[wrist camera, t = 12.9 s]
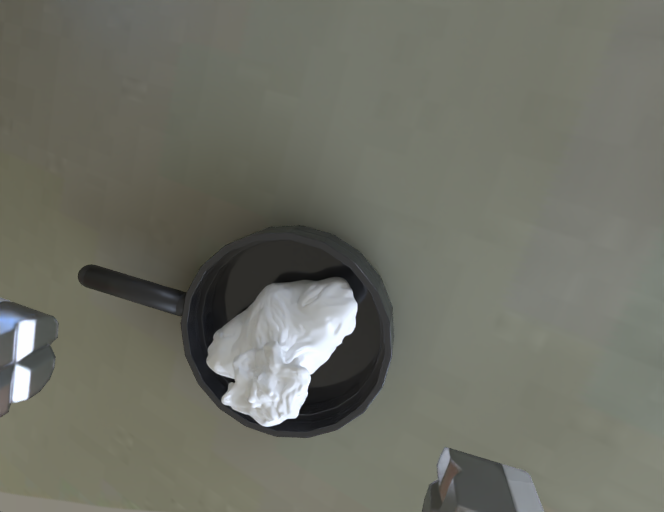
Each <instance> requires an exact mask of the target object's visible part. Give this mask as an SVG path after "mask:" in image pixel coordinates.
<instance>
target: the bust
mask: <svg viewBox="0 0 664 512" xmlns="http://www.w3.org/2000/svg"><path fill="white" fill-rule="evenodd" d="M356 313H357V302H356V301H355V299H354V296H353V291H352V289H351V288H350V286H349V284H348V282H347V281H346V280H345V279H343V278H340V277H330V278H327V279H324V280H320V281H311V280H300V281H294V282H284V283H272V284H270V285H267V286H266V287H265V288H264V289H263V290H262V291H261V292H260V294H259V295H258V296H257V298H256V300H255V301H254V302H253V303H252V304H251V305H250V306H249V307H248V308H247V309H246V310H245V311H243V312H242V313H240V314H239V315H237V316H236V317H234V318H233V319H232V320H230V321H229V322H228V323H227V324H225V325H224V326H223V327H222V328H221V329H219V330H217V331H216V332H215V334H214V336H213V339H214V340H213V342H212V343H211V344H210V346H209V347H208V357H207V359H206V362H207V365H208V366H209V368H210V369H212V370H213V371H214V372H215V373H217V374H219V375H222V376H225V377H229V378H232V379H235V383H233V382H231V383H229V385H228V391H227V392H226V393H225V394H224V395H223V396H222V399H221V401H222V403H223V404H224V405H229V406H231V407H232V409H233V410H236V411H238V412H241V413H243V414H246V415H250V416H251V417H252V418H253V419H254V420H256V421H257V422H258V423H259V424H260V425H262V426H265V427H269V426H274V425H277V424H280V423H281V422H283V421H284V420H286V419H295V418H296V417H297V416H298V415H299V410H300V408H301V406H302V405H303V404H304V401H305V399H306V397H307V395H308V386H309V383H310V381H311V376H310V375H311V374H313V373H314V372H315V371H316V370H317V369H318V368H319V367H320V366H321V365H323V364H324V363H325V362H326V361H327V360H328V359H329V358H330V356H331V354H332V353H333V352H334V351H335V349H336V346H338V345H340V344H341V343H342V340H343V338H344V337H345V336H346V335H349V334H351V333H352V332H353V330H354V328H355V326H356V319H355V317H356Z"/></svg>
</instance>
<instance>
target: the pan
mask: <svg viewBox="0 0 664 512" xmlns="http://www.w3.org/2000/svg"><path fill="white" fill-rule="evenodd" d="M330 277H340V278H343V279H345V280H346V281H347V282H348V284H349V286H350V288H351V289H352V291H353V296H354V299H355V301H356V302H357V313H356V317H355V319H356V326H355V328H354V330H353V332H352V333H351V334H349V335H346V336H345V337H344V338H343V340H342V343H341V344H340V345H338V346H336V349H335V351H334V352H333V353H332V354H331V356H330V358H329V359H328V360H327V361H326V362H325V363H324V364H323V365H321V366H320V367H319V368H318V369H317V370H316V371H315V372H314V373H313V374H311V375H310V376H311V381H310V383H309V386H308V395H307V397H306V399H305V401H304V404H303V405H302V406H301V408H300V410H299V415H298V416H297V417H296V418H295V419H286V420H284V421H283V422H281V423H280V424H277V425H274V426H269V427H265V426H262V425H260V424H259V423H258V422H257V421H256V420H254V419H253V418H252V417H251V416H250V415H246V414H243V413H241V412H238V411H236V410H233V409H232V407H231V406H229V405H224V404H223V403H222V401H221V399H222V396H223V395H224V394H225V393H226V392H227V391H228V385H229V383H231V382H233V383H235V379H232V378H229V377H225V376H222V375H219V374H217V373H215V372H214V371H213V370H212V369H210V368H209V366H208V365H207V362H206V359H207V357H208V347H209V346H210V344H211V343H212V342H213V340H214V339H213V336H214V334H215V332H216V331H217V330H219V329H221V328H222V327H223V326H224V325H225V324H227V323H228V322H229V321H230V320H232V319H233V318H234V317H236V316H237V315H239V314H240V313H242V312H243V311H245V310H246V309H247V308H248V307H249V306H250V305H251V304H252V303H253V302H254V301H255V300H256V298H257V296H258V295H259V294H260V292H261V291H262V290H263V289H264V288H265V287H266V286H267V285H270V284H272V283H284V282H294V281H300V280H311V281H320V280H324V279H327V278H330ZM181 330H182V337H183V344H184V351H185V356H186V358H187V361H188V363H189V365H190V367H191V369H192V371H193V374H194V376H195V378H196V380H197V382H198V384H199V385H200V387H201V388H202V389H203V390H204V391H205V392H206V394H207V395H208V396H209V397H210V398H211V399H212V401H213V402H214V403H215V404H216V405H217V407H218V408H220V409H221V410H222V411H224V412H225V413H227V414H228V415H230V416H231V417H233V418H234V419H236V420H237V421H238V422H240V423H241V424H243V425H244V426H246V427H249V428H252V429H255V430H258V431H261V432H264V433H267V434H270V435H273V436H276V437H298V438H309V437H313V436H317V435H320V434H324V433H328V432H332V431H335V430H338V429H340V428H341V427H343V426H344V425H346V424H347V423H349V422H350V421H352V420H353V419H355V418H356V417H358V416H359V415H361V414H362V413H363V412H365V410H366V409H367V408H368V406H369V405H370V404H371V402H372V401H373V400H374V398H375V397H376V396H377V394H378V393H379V392H380V390H381V389H382V387H383V385H384V381H385V378H386V375H387V371H388V368H389V365H390V361H391V358H392V351H393V342H394V326H393V308H392V304H391V302H390V299H389V297H388V294H387V292H386V289H385V286H384V284H383V281H382V279H381V278H380V276H379V274H378V273H377V272H376V271H375V270H374V268H373V267H372V266H371V265H370V263H369V262H368V261H367V260H366V258H365V257H364V256H363V255H362V254H361V253H360V252H359V251H358V250H356V249H355V248H353V247H352V246H350V245H349V244H347V243H346V242H344V241H343V240H341V239H339V238H338V237H336V236H335V235H332V234H331V233H327V232H323V231H320V230H316V229H313V228H309V227H305V226H300V225H298V226H278V227H268V228H266V229H263V230H261V231H258V232H256V233H253V234H251V235H248V236H246V237H243V238H241V239H239V240H237V241H234V242H232V243H230V244H228V245H225V246H224V247H223V248H222V249H220V250H219V251H218V252H217V253H216V254H215V255H214V256H212V257H211V258H210V259H209V260H208V261H207V262H206V263H205V264H203V265H202V266H201V267H200V269H199V271H198V273H197V275H196V277H195V278H194V280H193V282H192V284H191V286H190V287H189V289H188V291H187V293H186V296H185V302H184V308H183V314H182V319H181Z"/></svg>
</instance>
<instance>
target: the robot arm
mask: <svg viewBox="0 0 664 512" xmlns="http://www.w3.org/2000/svg"><path fill="white" fill-rule="evenodd" d="M58 325H59V323H58V321H57V320H56V319H55V318H54V316H51V315H48V314H45V313H43V312H40V311H37V310H34V309H31V308H29V307H26V306H23V305H20V304H17V303H15V302H11V301H9V300H6V299H3V298H0V417H2V416H3V415H5V414H6V413H8V412H9V409H10V405H11V403H15V402H20V401H24V400H28V399H30V398H31V397H33V396H34V395H36V394H37V393H39V392H40V391H41V390H42V388H43V387H44V386H45V385H46V383H47V382H48V381H49V380H50V377H51V375H52V372H53V370H54V366H55V358H56V357H55V355H54V352H53V350H52V348H51V346H50V344H52V343H53V342H54V341H55V340H56V339H57V338H58ZM437 474H438V480H436V481H434V482H433V483H431V484H429V487H428V490H427V493H426V496H425V499H424V504H423V508H422V512H544V510H543V507H542V504H541V502H540V499H539V497H538V494H537V492H536V489H535V486H534V484H533V481H532V479H531V476H530V474H529V473H528V472H526V471H525V470H522V469H518V468H515V467H511V466H508V465H504V464H501V463H497V462H494V461H490V460H487V459H484V458H481V457H477V456H474V455H471V454H467V453H464V452H461V451H457V450H454V449H451V448H447V447H445V448H444V450H443V451H442V453H441V455H440V458H439V461H438V463H437ZM0 512H1V511H0Z"/></svg>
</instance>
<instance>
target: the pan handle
mask: <svg viewBox="0 0 664 512" xmlns="http://www.w3.org/2000/svg"><path fill="white" fill-rule="evenodd" d="M78 280H79V282H80V283H81V284H82V285H83V286H85V287H87V288H90V289H94V290H97V291H100V292H103V293H107V294H110V295H113V296H116V297H119V298H123V299H126V300H129V301H132V302H135V303H139V304H142V305H145V306H148V307H152V308H155V309H158V310H161V311H164V312H168V313H171V314H174V315H177V316H182V314H183V308H184V302H185V296H186V292H182V291H179V290H176V289H173V288H169V287H166V286H163V285H159V284H156V283H153V282H150V281H146V280H143V279H140V278H136V277H133V276H130V275H126V274H123V273H120V272H117V271H113V270H110V269H107V268H103V267H100V266H97V265H86V266H84V267H83V268H82V269H81V270H80V271H79V273H78Z"/></svg>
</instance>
